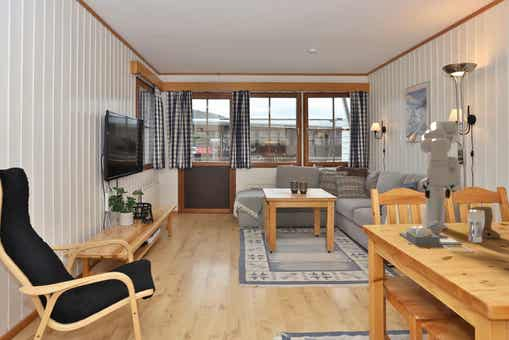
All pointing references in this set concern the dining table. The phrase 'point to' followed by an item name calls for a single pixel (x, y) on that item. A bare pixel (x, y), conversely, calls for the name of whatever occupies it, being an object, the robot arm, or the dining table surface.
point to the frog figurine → (435, 227)
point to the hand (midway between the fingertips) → (437, 198)
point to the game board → (431, 239)
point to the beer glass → (476, 225)
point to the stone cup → (487, 223)
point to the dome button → (422, 231)
